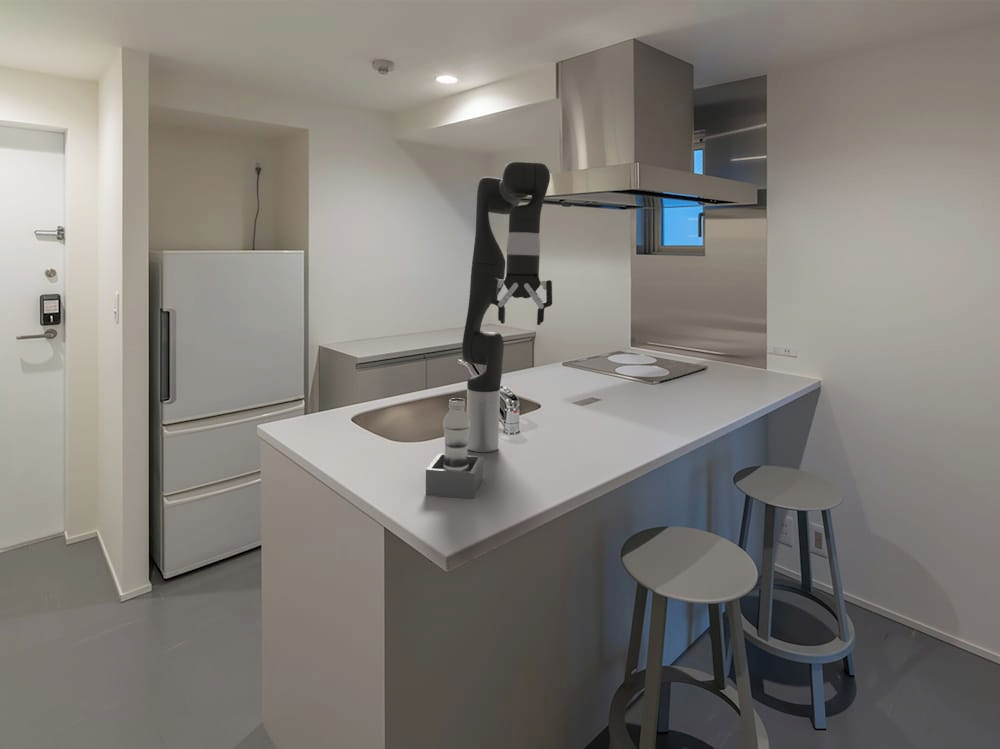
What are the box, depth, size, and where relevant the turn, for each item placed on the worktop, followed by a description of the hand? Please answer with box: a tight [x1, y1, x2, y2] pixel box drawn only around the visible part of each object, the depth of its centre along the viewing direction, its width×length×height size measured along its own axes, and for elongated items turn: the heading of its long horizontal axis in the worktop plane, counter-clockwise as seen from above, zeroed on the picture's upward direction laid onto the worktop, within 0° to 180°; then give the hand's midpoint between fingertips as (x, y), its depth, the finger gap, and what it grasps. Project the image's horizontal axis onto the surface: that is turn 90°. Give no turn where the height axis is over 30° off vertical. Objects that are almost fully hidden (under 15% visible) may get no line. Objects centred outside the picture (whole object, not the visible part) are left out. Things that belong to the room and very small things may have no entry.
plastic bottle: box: [442, 397, 470, 471], centre depth 137 cm, size 6×7×20 cm
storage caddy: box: [425, 452, 484, 500], centre depth 138 cm, size 12×11×6 cm
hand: (520, 324), depth 139 cm, fingers open, 8 cm apart
